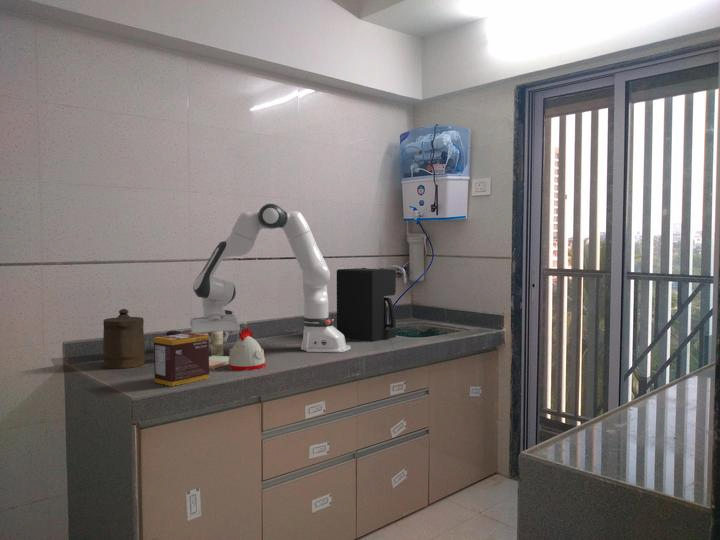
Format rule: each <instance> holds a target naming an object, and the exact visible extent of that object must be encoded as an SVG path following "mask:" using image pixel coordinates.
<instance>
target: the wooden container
mask: <svg viewBox="0 0 720 540" xmlns="http://www.w3.org/2000/svg"><path fill="white" fill-rule="evenodd" d="M118 314H119V315H118V316H117V317H111V318H110V317H109V318H105V319H103V323H102V325H103V333H102V334H103V338H102V339H103V340H102V342H103V347H102V348H103V366H104V368H107V369H116V370H117V369H129V368H135V367H141V366H143V365H145V361H146V360H145V336H144V332H145V331H144V322H145V321H144V317H141V316H138V317H137V316H130V315H129V310H128V309H126V308H122V309H120V310H118Z"/></svg>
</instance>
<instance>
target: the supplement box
mask: <svg viewBox="0 0 720 540" xmlns="http://www.w3.org/2000/svg"><path fill="white" fill-rule="evenodd" d="M209 338H210V336H209V335H206V334H199V333H193V332H192V331H190V332H185V333H183V332H182V334H175V335H168V336H166V335H164V336H163V335H162V336H156V337H153V359H154V360H153V361H154V362H153V363H154V364H153V365H154V368H153V369H154V372H153V373H154V383H155V382H157V383H156V384H159V383H161V385H163V384H165V386H167V385H169V387H171V386H172V387H176V386H175V385H177V386H181V385H180V384H182V385H186V384H190V382H191V383H195V382H194V381H196V382H198V380H200V381H204V380H203V379H205V380H209V379H210V369H209V357H210V344H209ZM208 378H209V379H208ZM185 383H186V384H185Z"/></svg>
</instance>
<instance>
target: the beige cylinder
mask: <svg viewBox="0 0 720 540" xmlns="http://www.w3.org/2000/svg"><path fill="white" fill-rule="evenodd" d="M210 338H211V344H210V350H211V351H210V353H211V355H210V356H213V355H214V356H224V343H223V338H224V335H223V331H211V336H210Z"/></svg>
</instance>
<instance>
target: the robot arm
mask: <svg viewBox="0 0 720 540" xmlns="http://www.w3.org/2000/svg"><path fill="white" fill-rule="evenodd" d="M277 228H278V229H281V230H283V232H284V234H285V236H286V239H287V241H288V243H289V246H290V248H291V251H292V253H293V255H294V257H295V259H296V261H297V263H298V265H299V267H300V269H301V271H302V289H303V291H302V292H303V316H304V317H303V318H302V327H303V336H302V340H301V341H302V342H301V345H300V346H301V347H300V349H301V350H302V351H305V352H307V353H344V352H347V351H349V350H351V345H350V344H347V343H346V338H345V337H344V335H343V334H342V333H341V332H340V331H338V330H337V327H335V326H334V325H333V322H334V318H331V317H330V316H329V315H330V313H329V296H328V294H329V293H328V283H329V281H330V280H331V271H330V269H329V267H328V264H327V262H326V260H325V259H324V256H323V254H322V252H321V250H320V249H319V246H318V244H317V243H316V239H315V237H314V234H313V233H312V231H311V228H310V226H309V224H308V222H307V220H306V218H305V217H304V215H303V214H302V212H300V211H298V210H291V211H288V212H287V211H285V210H284V209H283V208H281V207H280V205H278V204H275V203H266V204H264V205H263V206H262V207H261V208H260V209H259V211H258V212H257V213H256V212H252V211H243V212H241V213H240V215H239V216H238V218H237V219H236V221H235V223H234V225H233V227H232V230H231V231H230V234H229V236H228V237H227V238H226V239H225V240H224V241H220V242H219V243H218V244H217V246H216V247H215V249H214V250H213V252H212V253H211V255H210V257H209V258H208V261H207V262H206V264H205V265H204V267H203V268H202V271H201V272H200V274H198V276H197V277H196V278H195V280H194V282H193V284H192V289H193V291H194V293H195V295H196V296H197V297H198V298H201V303H202V308H203V310H202V312H203V313H202V314H203V317H201V316H200V317H193V318H191V319H190V320H189V325H190V327H191V332H193V333H199V334H206V335H209V345H211V331H223V344H226V343H228V342H227V341H228V338H229V336H235V335H239V333H240V332H241V328H240V323H239V320H238V318H237V317H236V313H235V311H234V310H230V309H229V310H228V309H225V308H224V307H226V306H228V305H229V304H230V303H232V302H233V301H234V299H235V298H236V294H237V291H236V287H235V284H234V283H233V282H231V281H229V280H225V279H221V278H217V277H215V276H214V275H215V272H216V271H217V270H218V268H219V266H220V264H221V263H222V261H223V260H225V259H227V258H230V257H241V256H244V255H247V254H248V253H250V252H251V251H252V249H253V248H254V245H255V243H256V240H257V237H258V234H259V233H260V231H261V230H262V229H268V230H275V229H277Z"/></svg>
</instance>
